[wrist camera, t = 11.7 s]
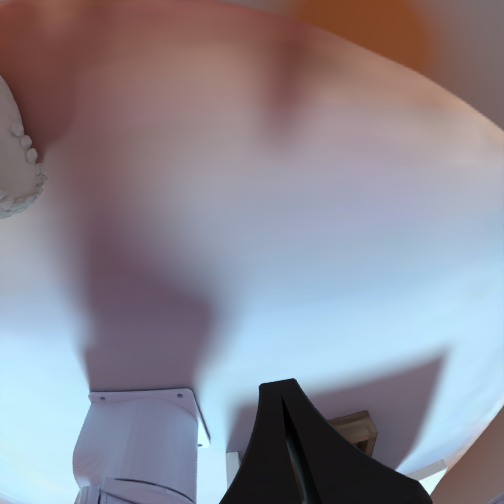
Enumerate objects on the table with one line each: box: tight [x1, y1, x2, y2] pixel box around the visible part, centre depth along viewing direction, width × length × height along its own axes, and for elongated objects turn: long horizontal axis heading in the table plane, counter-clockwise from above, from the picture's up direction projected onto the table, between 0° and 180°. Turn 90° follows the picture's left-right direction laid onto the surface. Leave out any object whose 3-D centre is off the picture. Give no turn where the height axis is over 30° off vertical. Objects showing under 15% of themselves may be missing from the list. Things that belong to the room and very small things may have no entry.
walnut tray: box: [288, 411, 378, 502], centre depth 26 cm, size 8×12×6 cm, turn 7°
